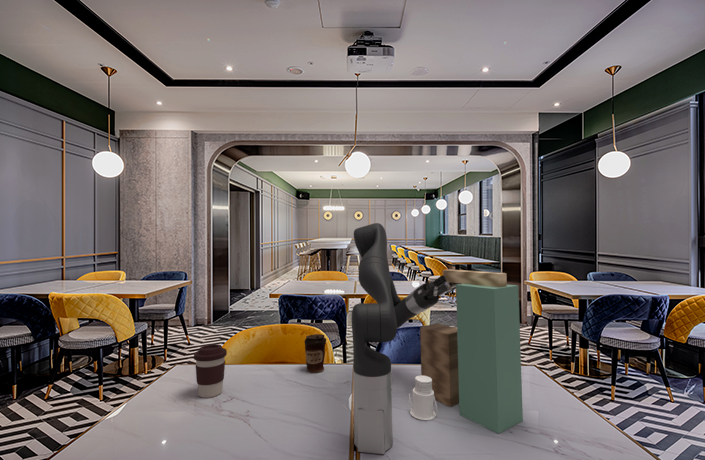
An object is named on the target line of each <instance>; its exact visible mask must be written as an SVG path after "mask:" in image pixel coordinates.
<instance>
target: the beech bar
mask: <svg viewBox="0 0 705 460" xmlns="http://www.w3.org/2000/svg"><path fill="white" fill-rule="evenodd" d="M442 275H444V276H445V278H446V280H447V282H452V283H460V284H471V285H481V286H490V287H506V286H507V285H508V284H507V283H508V281H507V278H508V277H507V272H506V273H505V272H496V271H495V272H494V271H492V272H491V271H479V270H477V271H476V270H466V269H465V270H461V269H443V270H442Z"/></svg>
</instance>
